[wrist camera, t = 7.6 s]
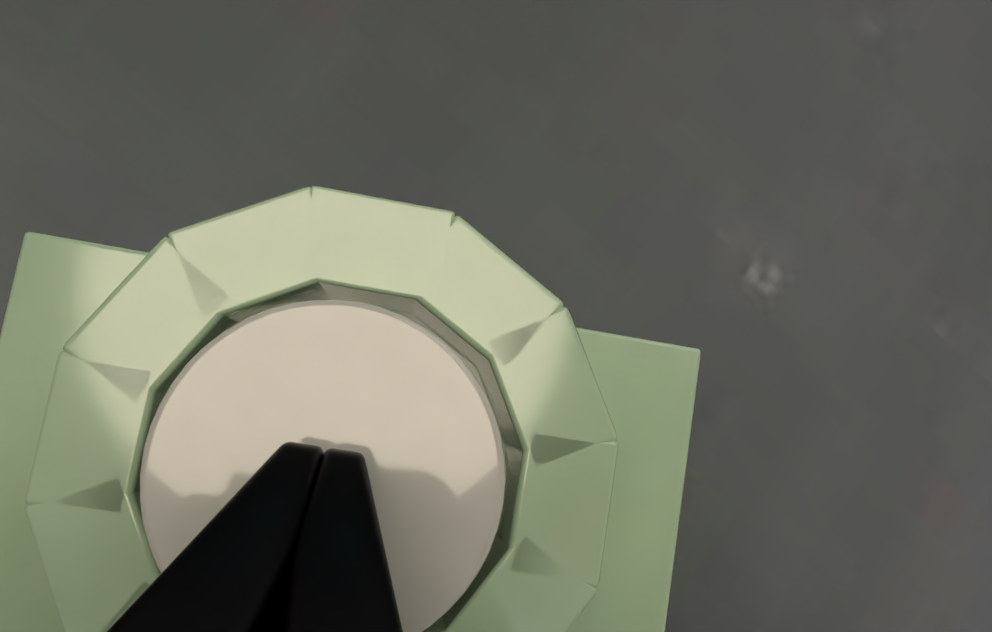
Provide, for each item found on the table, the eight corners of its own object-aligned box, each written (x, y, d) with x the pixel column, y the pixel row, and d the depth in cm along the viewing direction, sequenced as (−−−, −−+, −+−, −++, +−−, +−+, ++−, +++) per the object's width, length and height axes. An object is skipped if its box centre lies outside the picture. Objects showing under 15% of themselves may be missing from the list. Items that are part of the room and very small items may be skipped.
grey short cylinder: (460, 627, 11) (475, 690, 9) (169, 587, 11) (99, 640, 8) (505, 346, 12) (531, 330, 9) (229, 299, 12) (179, 269, 9)
